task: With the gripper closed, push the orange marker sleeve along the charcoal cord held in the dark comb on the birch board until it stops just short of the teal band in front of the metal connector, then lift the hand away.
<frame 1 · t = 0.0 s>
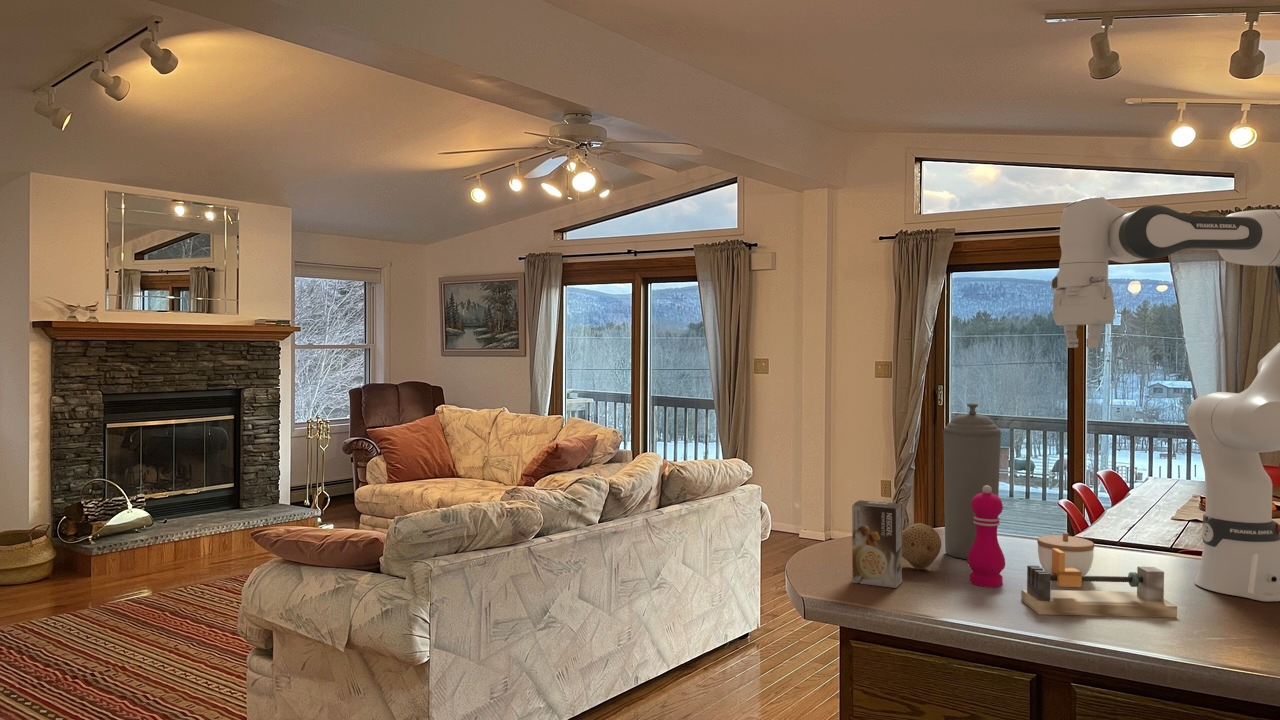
hand: (1082, 347, 180), 48 cm above the counter, fingers open, 8 cm apart
canister: (970, 556, 206), on the counter
cord board: (1096, 608, 166), on the counter
natural sponge: (918, 570, 193), on the counter
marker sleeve: (1066, 567, 166), point 8 cm above the counter, slide at 0.0 cm
coffee box: (877, 583, 183), on the counter
lidded jar: (1064, 578, 187), on the counter
pepper mill: (985, 584, 183), on the counter
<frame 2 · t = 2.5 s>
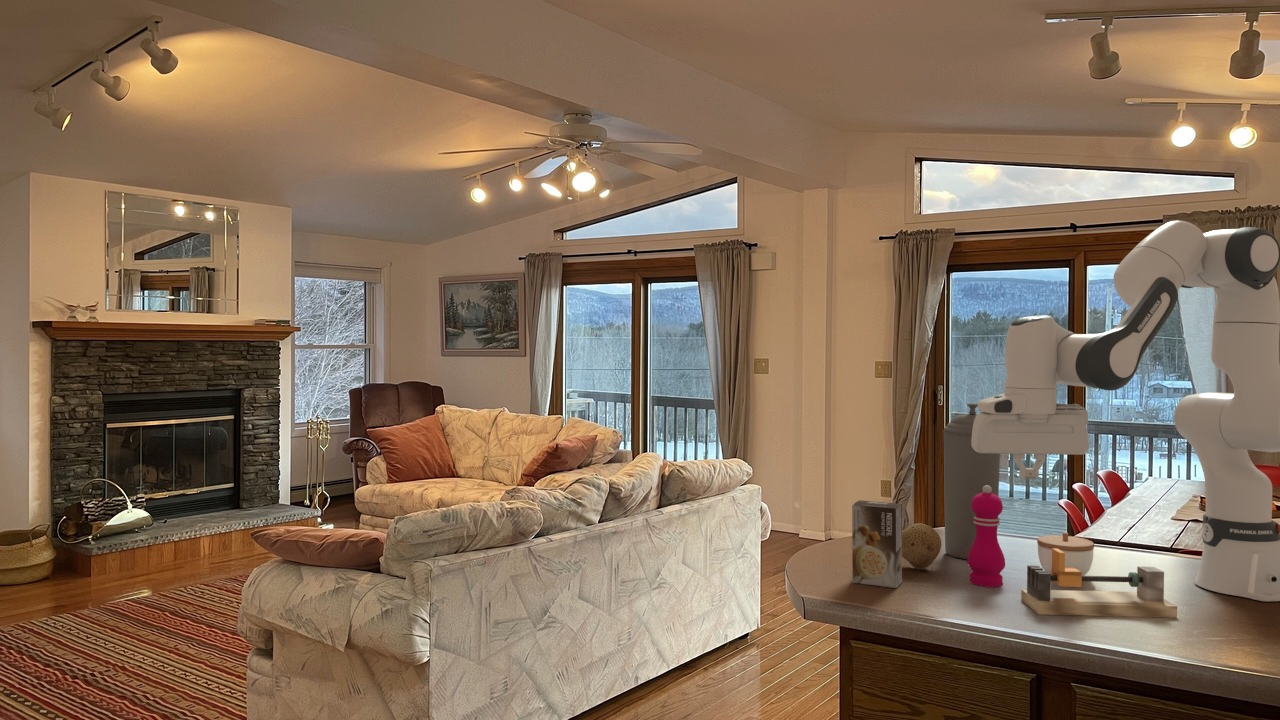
hand: (1028, 478, 166), 24 cm above the counter, fingers closed
nothing on the counter moved.
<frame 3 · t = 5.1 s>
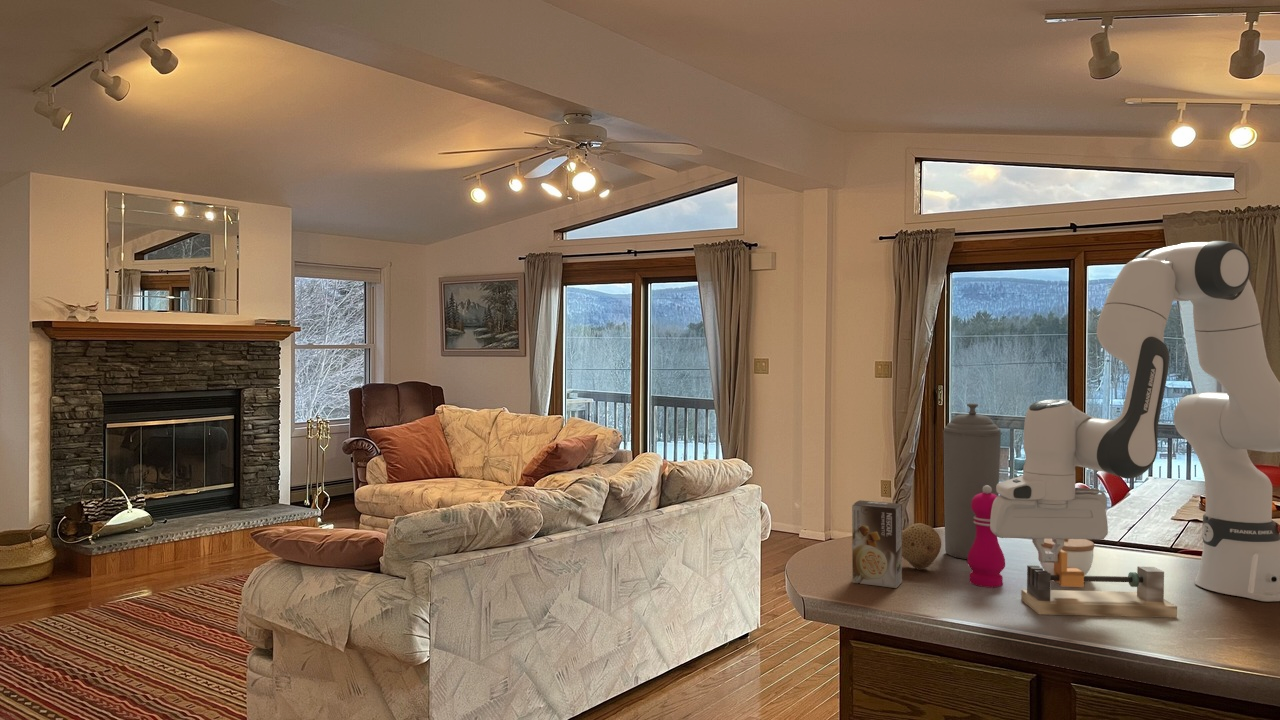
hand: (1048, 562, 166), 8 cm above the counter, fingers closed
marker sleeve: (1068, 567, 166), point 8 cm above the counter, slide at 0.4 cm, touching gripper
everything else where it was.
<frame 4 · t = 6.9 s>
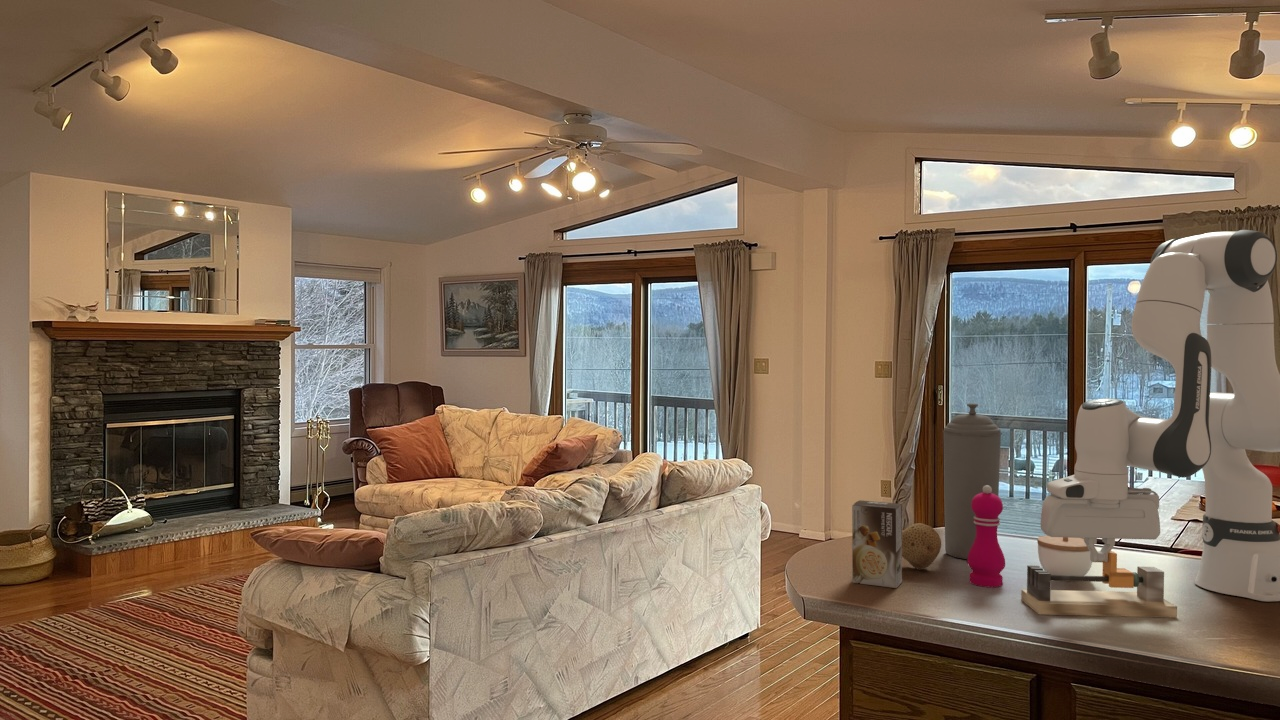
hand: (1099, 561, 165), 9 cm above the counter, fingers closed
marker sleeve: (1118, 568, 165), point 8 cm above the counter, slide at 9.2 cm, touching gripper
everything else where it was.
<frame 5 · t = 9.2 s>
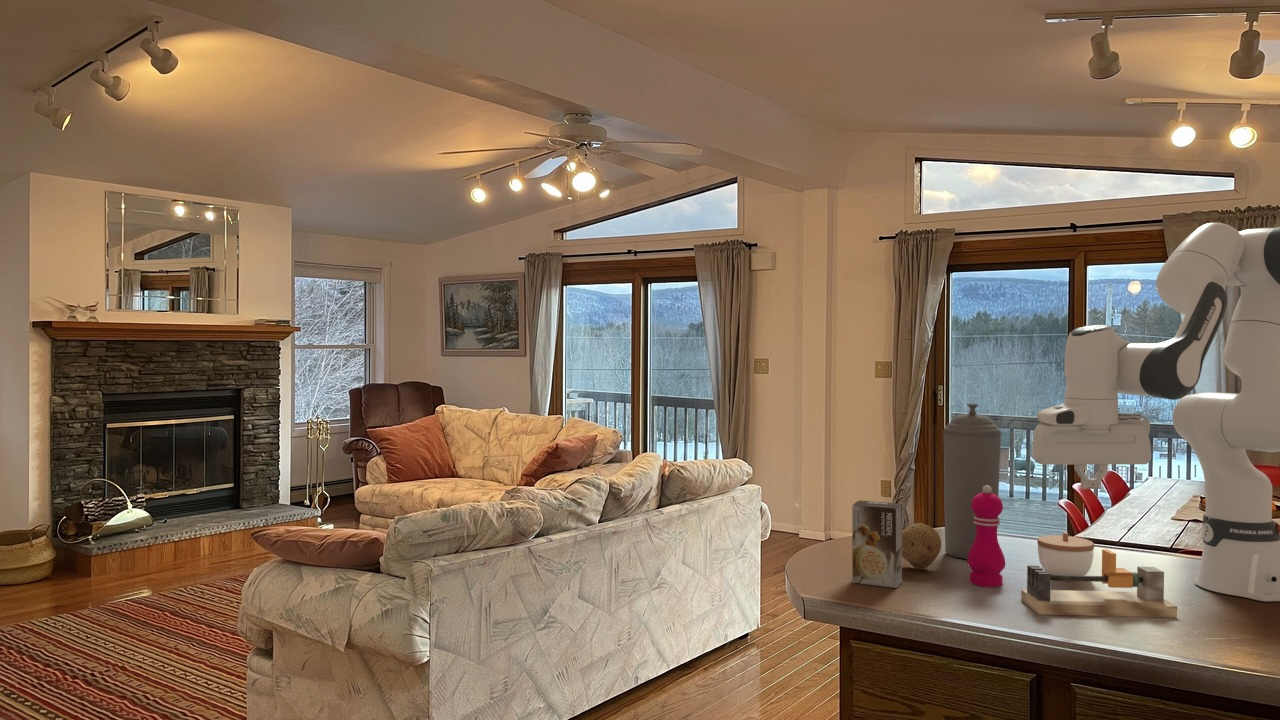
hand: (1090, 488, 165), 22 cm above the counter, fingers closed
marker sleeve: (1117, 568, 165), point 7 cm above the counter, slide at 9.1 cm
everything else where it was.
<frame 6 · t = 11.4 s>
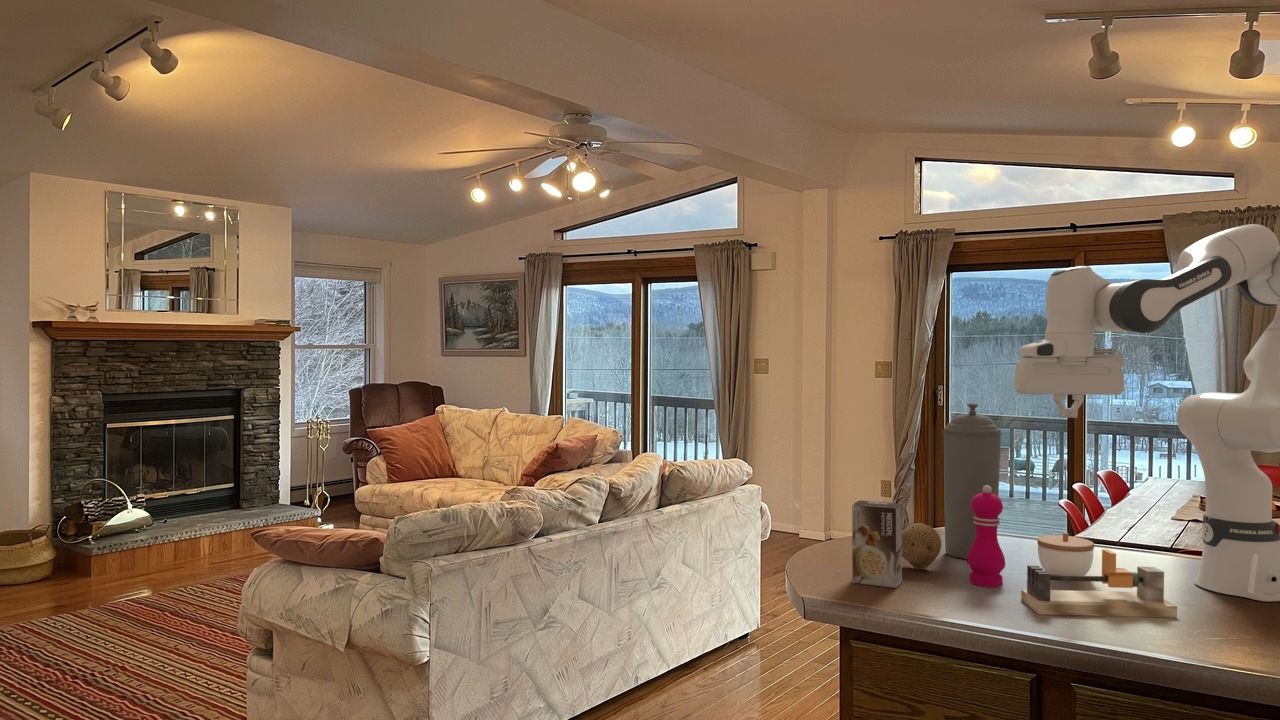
hand: (1068, 417, 179), 34 cm above the counter, fingers closed
nothing on the counter moved.
at the end: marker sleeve slide at 9.1 cm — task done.
